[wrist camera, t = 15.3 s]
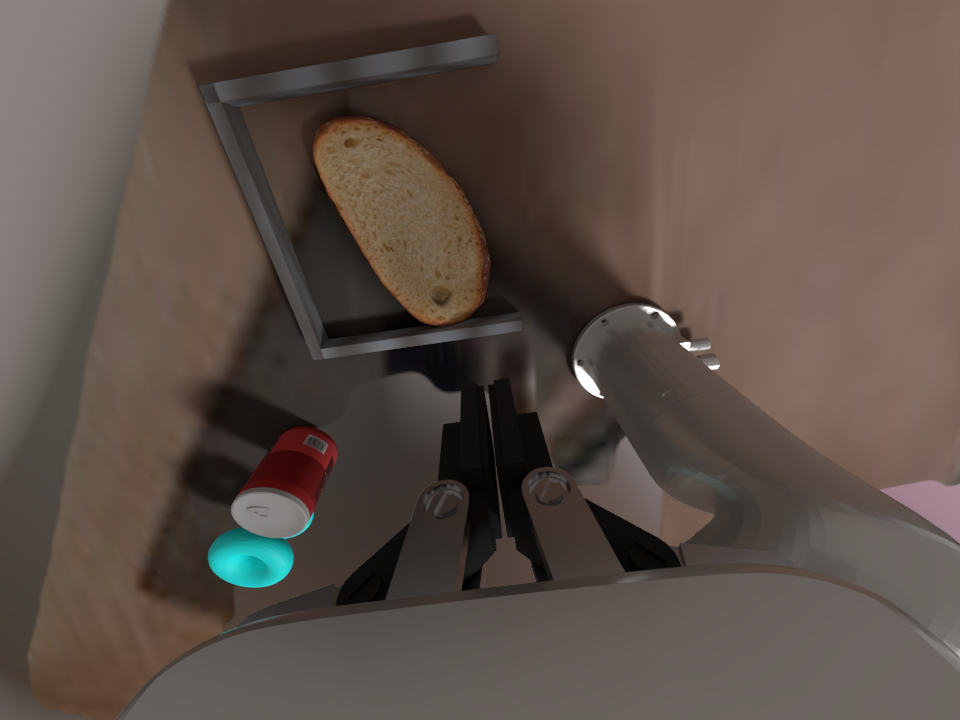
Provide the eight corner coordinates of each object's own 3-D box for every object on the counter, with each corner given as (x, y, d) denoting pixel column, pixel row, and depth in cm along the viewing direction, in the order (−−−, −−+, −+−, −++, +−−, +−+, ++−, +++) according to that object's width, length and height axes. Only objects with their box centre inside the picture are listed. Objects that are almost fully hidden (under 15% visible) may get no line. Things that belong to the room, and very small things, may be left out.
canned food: (271, 424, 46) (219, 492, 36) (333, 423, 46) (298, 491, 36) (286, 467, 49) (242, 540, 40) (344, 466, 50) (314, 538, 40)
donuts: (209, 589, 46) (195, 541, 41) (250, 521, 54) (242, 475, 50) (289, 594, 47) (284, 548, 42) (317, 527, 56) (315, 483, 51)
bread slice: (312, 104, 30) (293, 97, 27) (515, 151, 32) (520, 149, 29) (317, 301, 39) (303, 313, 35) (478, 328, 41) (479, 342, 37)
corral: (494, 43, 28) (496, 33, 26) (520, 321, 40) (523, 330, 38) (218, 91, 29) (198, 85, 27) (322, 350, 41) (313, 360, 39)
